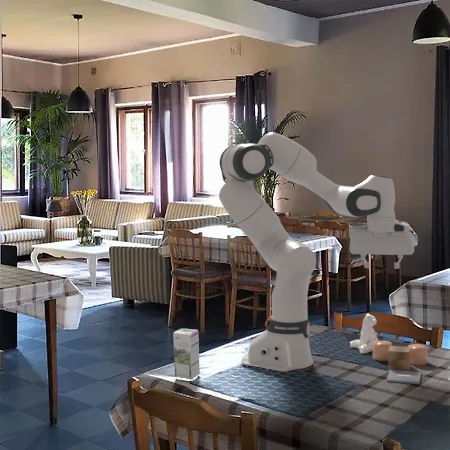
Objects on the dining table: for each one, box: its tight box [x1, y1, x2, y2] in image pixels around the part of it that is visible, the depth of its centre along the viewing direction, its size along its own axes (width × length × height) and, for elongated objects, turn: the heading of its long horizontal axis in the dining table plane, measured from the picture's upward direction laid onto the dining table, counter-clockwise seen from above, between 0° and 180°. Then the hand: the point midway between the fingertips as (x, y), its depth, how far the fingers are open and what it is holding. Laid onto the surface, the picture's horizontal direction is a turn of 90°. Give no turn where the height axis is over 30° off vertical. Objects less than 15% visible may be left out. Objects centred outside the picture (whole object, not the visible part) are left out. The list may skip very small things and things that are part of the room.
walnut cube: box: [387, 345, 411, 371], centre depth 205 cm, size 6×6×6 cm
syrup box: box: [172, 328, 201, 379], centre depth 200 cm, size 6×6×14 cm
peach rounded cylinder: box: [407, 343, 429, 366], centre depth 210 cm, size 6×6×5 cm
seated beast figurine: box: [349, 313, 379, 355], centre depth 226 cm, size 10×9×12 cm
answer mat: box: [386, 370, 422, 385], centre depth 196 cm, size 9×9×1 cm
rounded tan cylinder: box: [372, 339, 393, 362], centre depth 216 cm, size 6×6×5 cm
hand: (381, 268), depth 219 cm, fingers open, 8 cm apart
